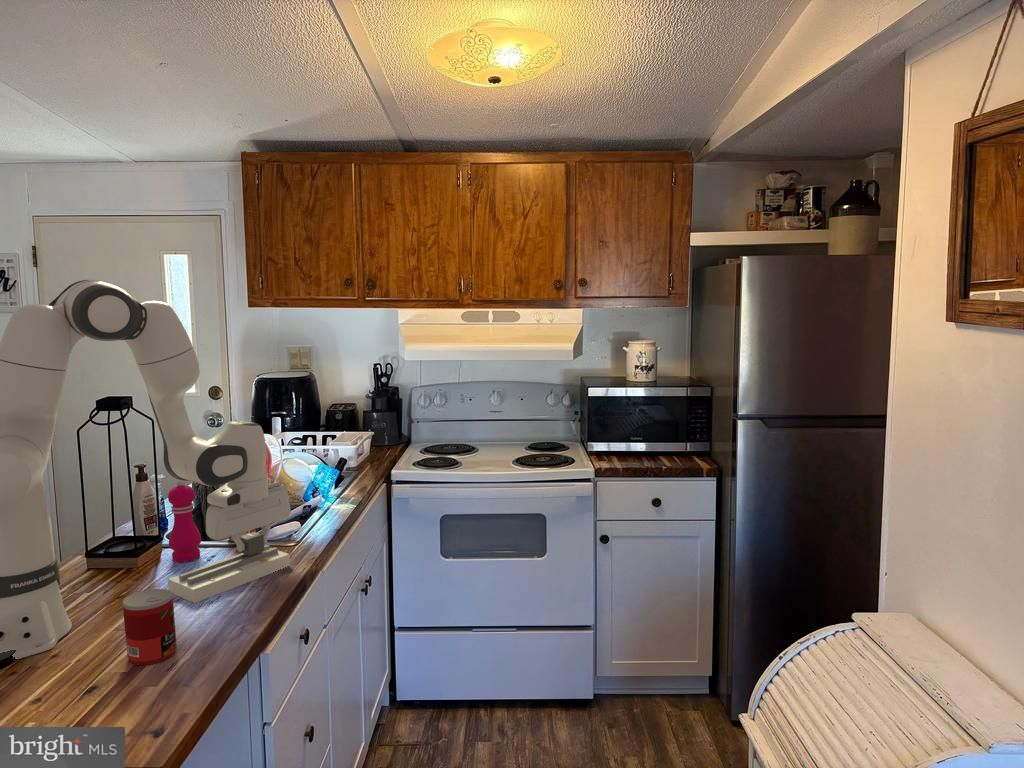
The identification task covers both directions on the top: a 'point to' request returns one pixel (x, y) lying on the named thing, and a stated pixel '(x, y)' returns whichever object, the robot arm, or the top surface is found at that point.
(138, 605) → the canned food
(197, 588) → the fader console
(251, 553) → the fader tab
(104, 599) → the top surface
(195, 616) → the top surface
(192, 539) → the pepper mill
